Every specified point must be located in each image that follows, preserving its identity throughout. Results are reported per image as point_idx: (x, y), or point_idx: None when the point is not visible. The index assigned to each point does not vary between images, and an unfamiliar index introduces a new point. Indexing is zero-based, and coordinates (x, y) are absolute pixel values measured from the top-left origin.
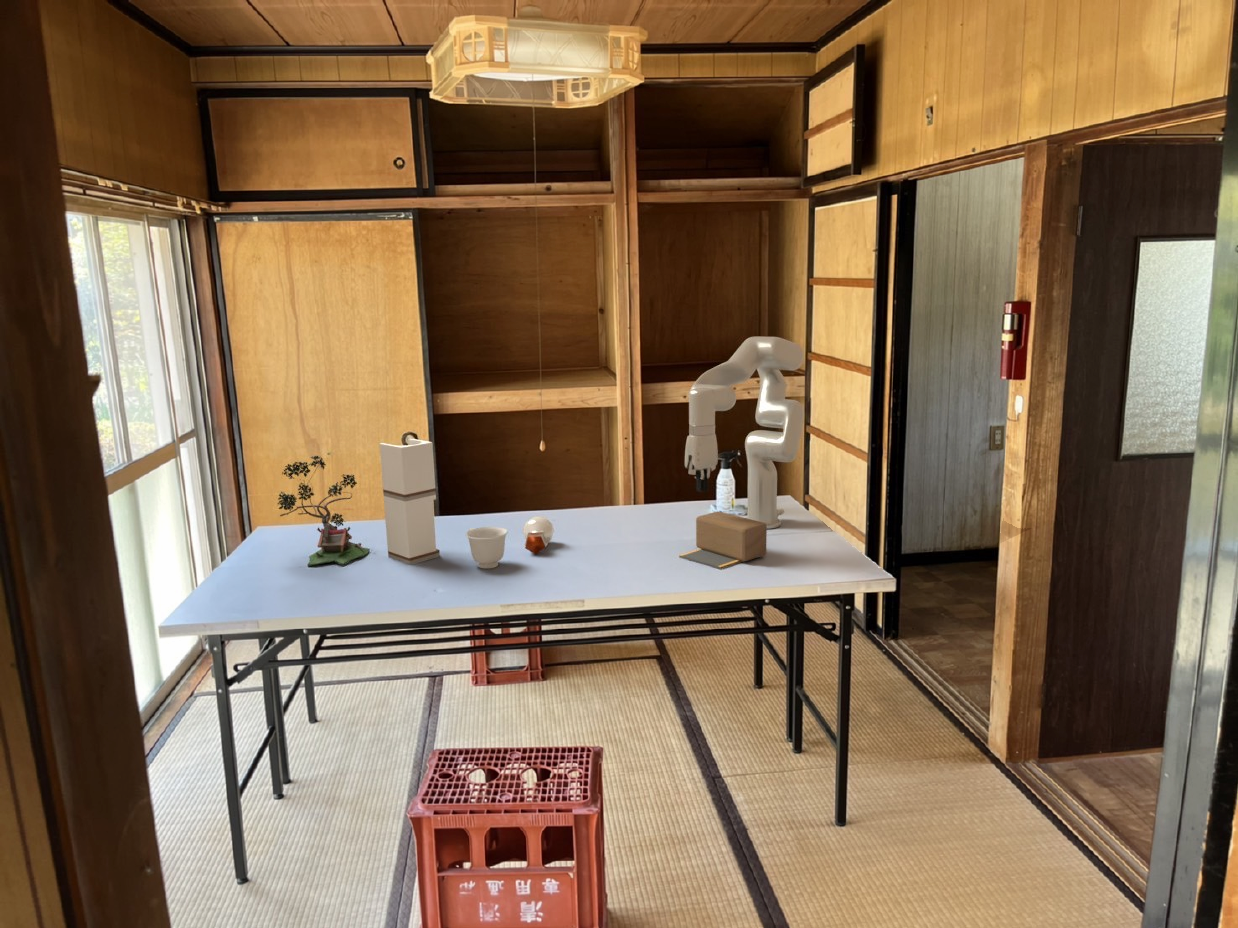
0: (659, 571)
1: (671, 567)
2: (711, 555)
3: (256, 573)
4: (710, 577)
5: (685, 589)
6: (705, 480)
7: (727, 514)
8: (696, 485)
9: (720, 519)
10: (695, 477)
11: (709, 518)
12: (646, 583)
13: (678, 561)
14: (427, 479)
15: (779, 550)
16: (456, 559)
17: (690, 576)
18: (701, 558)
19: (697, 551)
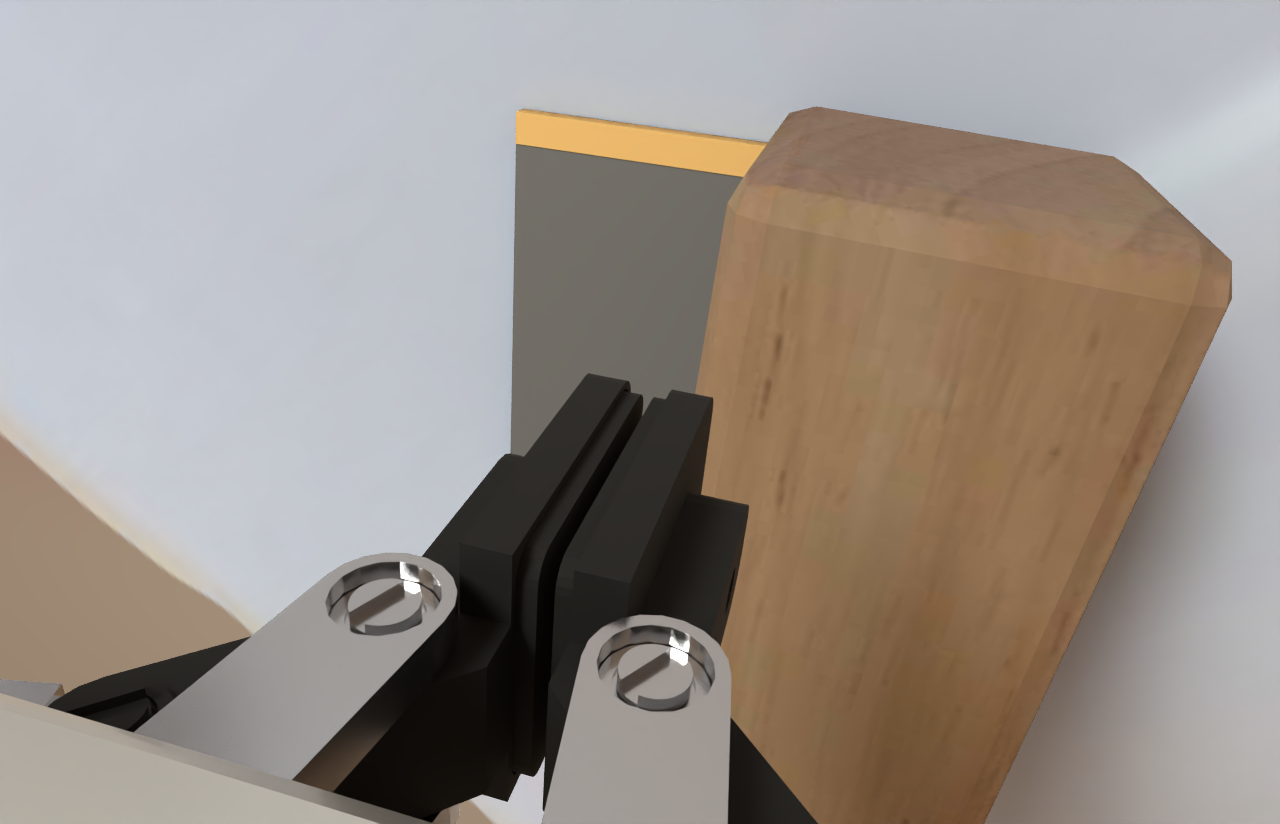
0: (196, 198)
1: (310, 216)
2: (688, 345)
3: None
4: (364, 526)
5: (141, 501)
6: (514, 774)
7: (1067, 499)
8: (547, 427)
9: (781, 526)
10: (342, 590)
11: (739, 400)
12: (17, 271)
13: (443, 172)
14: None
15: (1180, 686)
16: None
17: (289, 422)
18: (574, 319)
19: (712, 180)
